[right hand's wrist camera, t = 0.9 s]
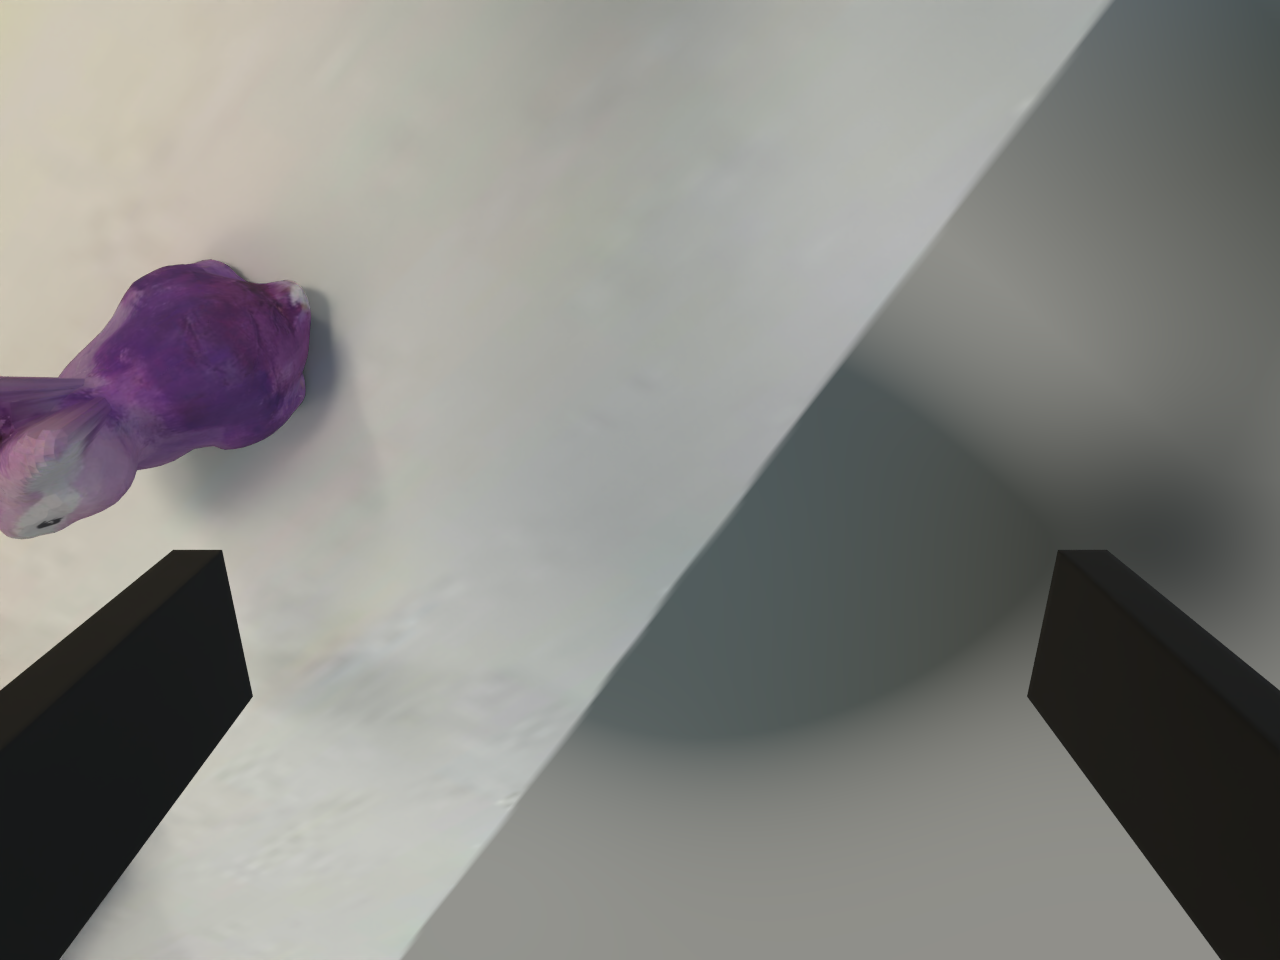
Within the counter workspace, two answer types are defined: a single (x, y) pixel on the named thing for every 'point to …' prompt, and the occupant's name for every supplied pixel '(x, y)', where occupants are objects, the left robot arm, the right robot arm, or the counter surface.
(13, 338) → the counter surface
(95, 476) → the figurine
